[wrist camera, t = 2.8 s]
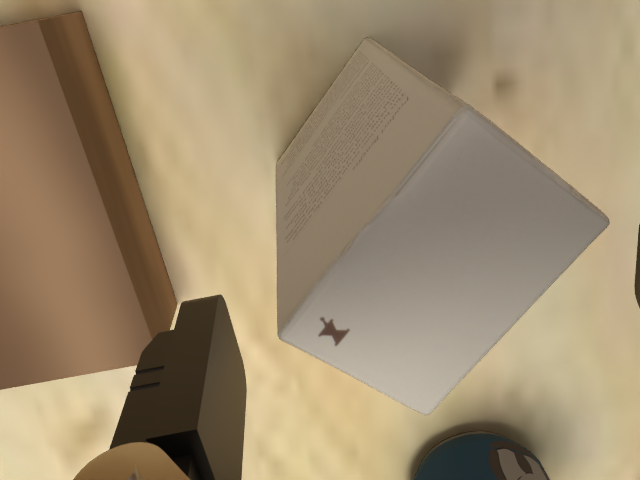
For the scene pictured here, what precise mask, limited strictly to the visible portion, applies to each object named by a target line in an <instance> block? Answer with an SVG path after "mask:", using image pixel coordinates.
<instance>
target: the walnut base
mask: <svg viewBox="0 0 640 480" xmlns="http://www.w3.org/2000/svg"><path fill="white" fill-rule="evenodd" d="M176 307H177V302H176V298H175V295H174V292H173V289H172V286H171V283H170V280H169V277H168V274H167V271H166V268H165V265H164V262H163V259H162V256H161V253H160V250H159V247H158V243H157V240H156V237H155V234H154V231H153V228H152V225H151V222H150V219H149V216H148V213H147V210H146V207H145V204H144V201H143V198H142V195H141V192H140V188H139V185H138V182H137V179H136V176H135V173H134V170H133V167H132V164H131V161H130V158H129V155H128V152H127V149H126V146H125V143H124V140H123V137H122V133H121V130H120V127H119V124H118V121H117V118H116V115H115V112H114V109H113V106H112V103H111V100H110V97H109V94H108V91H107V88H106V85H105V82H104V78H103V75H102V72H101V69H100V66H99V63H98V60H97V57H96V54H95V51H94V48H93V45H92V42H91V39H90V36H89V33H88V30H87V27H86V23H85V20H84V17H83V14H82V11H80V12H74V13H69V14H64V15H59V16H54V17H48V18H43V19H38V20H33V21H28V22H22V23H17V24H12V25H7V26H1V27H0V390H1V389H7V388H12V387H18V386H23V385H29V384H35V383H40V382H46V381H51V380H57V379H62V378H68V377H74V376H79V375H85V374H90V373H96V372H101V371H107V370H112V369H118V368H124V367H129V366H135V365H138V362H139V359H140V356H141V353H142V351H143V350H144V349H145V348H146V346H147V345H148V344H149V343H150V342H151V341H152V340H153V338H154V337H155V336H156V335H157V334H158V333H159V332H165V331H169V330H170V327H171V324H172V320H173V317H174V314H175V311H176Z"/></svg>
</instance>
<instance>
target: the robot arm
mask: <svg viewBox="0 0 640 480" xmlns="http://www.w3.org/2000/svg"><path fill="white" fill-rule="evenodd" d="M635 295H636V299H637V302H638V305H639V307H640V225H639V233H638V247H637V261H636V274H635ZM135 372H136V375H134V377H133V380H132V383H131V386H130V392H128V395H127V398H126V401H125V404H124V407H123V410H122V413H121V416H120V419H119V422H118V425H117V428H116V431H115V434H114V437H113V440H112V443H111V446H110V449H109V450H108V451H106V452H104V453H102V454H101V455H99V456H97V457H96V458H95V459H93V460H92V461H90V462H89V463H88V464H87V465H86V466H85V467H84V468H83V469H82V470H81V471H80V472H79V473H78V474H77V475H76V477H75V478H74V479H73V480H241V476H242V460H243V443H244V426H245V410H246V392H247V389H246V377H245V370H244V365H243V361H242V357H241V353H240V350H239V347H238V343H237V340H236V336H235V333H234V330H233V326H232V323H231V319H230V316H229V312H228V309H227V306H226V303H225V300H224V298H223V296H222V295H215V296H210V297H205V298H200V299H194V300H189V301H184V302H182V303H181V306H180V310H179V313H178V317H177V321H176V325H175V328H174V330H170V331H165V332H159V333H158V334H157V335H156V336H155V337H154V338H153V340H152V341H151V342H150V343H149V344H148V345H147V346H146V348H145V349H144V350H143V351H142V353H141V356H140V359H139V362H138V365H137V368H136V371H135Z"/></svg>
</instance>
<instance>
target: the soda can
mask: <svg viewBox="0 0 640 480" xmlns="http://www.w3.org/2000/svg"><path fill="white" fill-rule="evenodd" d="M414 480H549V478H548V476H547V474H546V472H545V470H544V468H543V466H542V464H541V463H540V461H539V460H538V459H537V458H536V457H535V456H534V455H533V454H532V453H531V452H530V451H529V450H527V449H526V448H524V447H523V446H521V445H519V444H517V443H515V442H513V441H511V440H509V439H507V438H505V437H503V436H501V435H498V434H495V433H491V432H481V431H477V432H467V433H462V434H458V435H455V436H452V437H450V438H448V439H446V440H444V441H442V442H441V443H439V444H438V445H436V446H435V447H434V448H432V449H431V450H430V451H429V452H428V453H427V455H426V456H425V457H424V459H423V460H422V462H421V464H420V466H419V469H418V471H417V473H416V475H415V477H414Z"/></svg>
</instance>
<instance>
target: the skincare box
mask: <svg viewBox="0 0 640 480" xmlns="http://www.w3.org/2000/svg"><path fill="white" fill-rule="evenodd" d="M609 224H610V222H609V218H608V217H607V216H606V215H605V214H604V213H603V212H602V211H601V210H600V209H598V208H597V207H596V206H595V205H594V204H592V203H591V202H590V201H589V200H588V199H586V198H585V197H584V196H583V195H582V194H580V193H579V192H578V191H577V190H575V189H574V188H573V187H572V186H571V185H569V184H568V183H567V182H566V181H565V180H563V179H562V178H561V177H560V176H558V175H557V174H556V173H555V172H553V171H552V170H551V169H550V168H548V167H547V166H546V165H545V164H543V163H542V162H541V161H540V160H538V159H537V158H536V157H535V156H533V155H532V154H531V153H530V152H529V151H527V150H526V149H525V148H524V147H522V146H521V145H520V144H519V143H518V142H516V141H515V140H514V139H513V138H512V137H510V136H509V135H508V134H506V133H505V132H504V131H503V130H501V129H500V128H499V127H497V126H496V125H495V124H493V123H492V122H491V121H490V120H488V119H487V118H486V117H484V116H483V115H482V114H480V113H479V112H478V111H477V110H475V109H474V108H473V107H471V106H470V105H469V104H467V103H465V102H464V101H462V100H461V99H459V98H457V97H456V96H454V95H453V94H451V93H450V92H448V91H446V90H445V89H443V88H442V87H440V86H439V85H437V84H436V83H434V82H433V81H431V80H430V79H428V78H427V77H425V76H424V75H422V74H421V73H420V72H418V71H417V70H415V69H414V68H412V67H411V66H409V65H408V64H407V63H405V62H404V61H402V60H401V59H400V58H398V57H397V56H396V55H394V54H393V53H391V52H390V51H388V50H387V49H386V48H384V47H383V46H381V45H380V44H379V43H377V42H376V41H374V40H373V39H371V38H365V39H364V40H363V41H362V43H361V44H360V46H359V47H358V48H357V50H356V51H355V53H354V54H353V55H352V57H351V58H350V60H349V61H348V63H347V64H346V65H345V67H344V68H343V70H342V71H341V72H340V74H339V75H338V77H337V78H336V80H335V81H334V82H333V84H332V85H331V87H330V88H329V90H328V91H327V92H326V94H325V95H324V97H323V98H322V99H321V101H320V102H319V104H318V105H317V106H316V108H315V109H314V111H313V112H312V114H311V115H310V116H309V118H308V119H307V121H306V122H305V123H304V125H303V126H302V128H301V129H300V131H299V132H298V134H297V135H296V136H295V138H294V139H293V141H292V142H291V144H290V145H289V146H288V148H287V149H286V151H285V152H284V154H283V155H282V156H281V158H280V159H279V160H278V162H277V163H276V232H277V327H278V337H279V339H280V340H282V341H284V342H286V343H288V344H290V345H292V346H294V347H296V348H298V349H300V350H302V351H304V352H306V353H308V354H310V355H312V356H314V357H316V358H318V359H319V360H321V361H323V362H325V363H327V364H329V365H331V366H333V367H335V368H337V369H339V370H341V371H342V372H344V373H346V374H348V375H350V376H352V377H354V378H355V379H357V380H359V381H361V382H363V383H364V384H366V385H368V386H370V387H372V388H374V389H376V390H377V391H379V392H381V393H383V394H385V395H386V396H388V397H390V398H392V399H394V400H396V401H398V402H400V403H402V404H403V405H405V406H407V407H409V408H411V409H413V410H415V411H417V412H419V413H421V414H423V415H428V414H430V413H431V412H432V411H433V410H434V409H435V408H436V407H437V406H438V404H439V403H440V402H441V401H442V400H443V399H444V398H445V397H446V396H447V395H448V394H449V393H450V392H451V390H452V389H453V388H454V387H455V386H456V385H457V384H458V383H459V382H460V381H461V380H462V379H463V378H464V377H465V376H466V375H467V374H468V373H469V372H470V371H471V370H472V369H473V367H474V366H475V365H476V364H477V363H478V362H479V361H480V360H481V359H482V358H483V357H484V356H485V355H486V354H487V352H488V351H489V350H490V349H491V348H492V347H493V346H494V345H495V344H496V343H497V342H498V341H499V340H500V339H501V338H502V337H503V336H504V335H505V333H506V332H507V331H508V330H509V329H510V328H511V327H512V326H513V325H514V324H515V323H516V322H517V321H518V320H519V319H520V317H521V316H522V315H523V314H524V313H525V312H526V311H527V310H528V309H529V308H530V307H531V306H532V305H533V304H534V303H535V301H536V300H537V299H538V298H539V297H540V296H541V295H542V294H543V293H544V292H545V291H546V290H547V289H548V288H549V287H550V286H551V285H552V284H553V283H554V282H555V281H556V279H557V278H558V277H559V276H560V275H561V274H562V273H563V272H564V271H565V270H566V269H567V268H568V267H569V266H570V265H571V264H572V263H573V262H574V260H575V259H576V258H577V257H578V256H579V255H580V254H581V253H582V252H583V251H584V250H585V249H586V248H587V247H588V246H589V245H590V244H591V243H592V242H593V241H594V240H595V239H596V238H597V237H598V236H599V235H600V234H601V233H602V232H603V231H604V230H605V229H606V228H607V226H608V225H609Z"/></svg>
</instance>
